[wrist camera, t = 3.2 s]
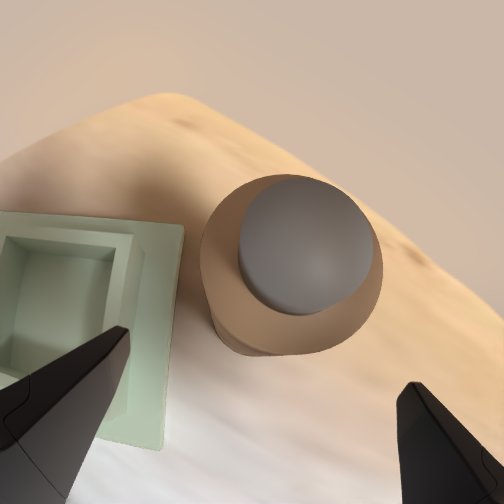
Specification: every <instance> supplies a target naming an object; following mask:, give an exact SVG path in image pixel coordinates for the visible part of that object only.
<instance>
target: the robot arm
mask: <svg viewBox="0 0 504 504" xmlns="http://www.w3.org/2000/svg"><path fill="white" fill-rule="evenodd" d="M130 350H131V345H130V331H129V329H128V328H125V327H122V326H119V325H116V326H114V327H112V328H110V329H109V330H107V331H105V332H103V333H101V334H100V335H98V336H96V337H94V338H93V339H91V340H89V341H87V342H86V343H84V344H82V345H80V346H78V347H77V348H75V349H73V350H71V351H70V352H68V353H66V354H64V355H63V356H61V357H59V358H57V359H56V360H54V361H52V362H50V363H48V364H47V365H45V366H43V367H41V368H40V369H38V370H36V371H34V372H33V373H31V374H30V375H27V376H25V377H24V378H22V379H20V380H18V381H16V382H14V383H13V384H11V385H9V386H7V387H5V388H3V389H0V504H65V502H66V499H67V497H68V495H69V493H70V490H71V488H72V486H73V483H74V481H75V479H76V476H77V474H78V472H79V470H80V467H81V465H82V463H83V461H84V459H85V456H86V454H87V452H88V450H89V448H90V446H91V444H92V441H93V439H94V437H95V435H96V433H97V431H98V429H99V427H100V425H101V422H102V420H103V418H104V416H105V414H106V412H107V410H108V408H109V406H110V404H111V402H112V400H113V398H114V396H115V393H116V390H117V388H118V385H119V382H120V379H121V377H122V374H123V371H124V368H125V365H126V363H127V360H128V357H129V355H130ZM396 407H397V443H398V453H399V463H400V474H401V488H402V504H504V467H503V466H502V465H501V464H500V463H499V462H498V461H497V460H496V459H495V458H494V457H493V456H492V455H491V454H490V453H489V452H488V451H487V450H486V449H485V448H484V447H483V446H482V445H481V444H480V442H479V441H478V440H477V439H476V438H475V437H474V436H473V435H472V434H471V433H470V432H469V431H468V430H467V429H466V428H465V427H464V426H463V425H462V424H461V423H460V422H459V421H458V420H457V419H456V418H455V417H454V415H453V414H452V413H451V412H450V411H449V410H448V409H447V408H446V407H445V406H444V405H443V404H442V403H441V402H440V401H439V400H438V399H437V398H436V397H435V396H434V395H433V394H432V393H431V392H430V391H429V390H428V389H427V388H426V387H425V386H424V385H423V384H422V383H421V382H409V383H408V384H407V385H406V387H405V388H404V389H403V391H402V392H401V394H400V395H399V396H398V398H397V402H396Z"/></svg>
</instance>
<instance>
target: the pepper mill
mask: <svg viewBox="0 0 504 504" xmlns="http://www.w3.org/2000/svg"><path fill="white" fill-rule="evenodd" d="M200 272H201V276H202V281H203V285H204V289H205V293H206V297H207V301H208V304H209V308H210V312H211V316H212V319H213V323H214V327H215V329H216V332H217V334H218V336H219V337H220V339H221V340H222V341H223V342H224V344H225V345H226V346H228V347H229V348H230V349H232V350H233V351H235V352H237V353H239V354H242V355H246V356H282V355H300V354H310V353H315V352H320V351H323V350H326V349H329V348H332V347H334V346H336V345H338V344H340V343H342V342H343V341H345V340H346V339H348V338H349V337H351V336H352V335H353V334H354V333H355V332H356V331H357V330H358V329H360V328H361V326H362V325H363V324H364V323H365V321H366V320H367V319H368V317H369V316H370V314H371V313H372V311H373V309H374V307H375V305H376V302H377V300H378V297H379V294H380V290H381V286H382V279H383V261H382V253H381V249H380V245H379V242H378V239H377V236H376V234H375V231H374V230H373V228H372V226H371V224H370V222H369V221H368V219H367V218H366V216H365V215H364V213H363V212H362V211H361V210H360V208H359V207H358V206H357V205H356V203H355V202H354V201H353V200H352V199H351V198H350V197H349V196H347V195H346V194H345V193H344V192H342V191H341V190H339V189H337V188H336V187H334V186H332V185H330V184H328V183H325V182H322V181H319V180H316V179H313V178H310V177H305V176H300V175H290V174H283V175H272V176H266V177H262V178H259V179H255V180H253V181H251V182H248V183H246V184H244V185H242V186H241V187H239V188H237V189H236V190H234V191H233V192H232V193H231V194H229V195H228V196H227V197H226V198H225V199H224V200H223V201H222V202H221V203H220V204H219V205H218V207H217V208H216V209H215V211H214V212H213V214H212V215H211V217H210V219H209V221H208V223H207V225H206V228H205V230H204V233H203V236H202V241H201V246H200Z"/></svg>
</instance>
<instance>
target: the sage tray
mask: <svg viewBox="0 0 504 504" xmlns="http://www.w3.org/2000/svg"><path fill="white" fill-rule="evenodd" d="M184 236H185V230H184V226H183V225H181V224H170V223H159V222H147V221H135V220H123V219H110V218H97V217H84V216H70V215H55V214H40V213H25V212H8V211H0V389H3V388H5V387H7V386H9V385H11V384H13V383H14V382H16V381H18V380H20V379H22V378H24V377H25V376H27V375H30V374H31V373H33V372H34V371H36V370H38V369H40V368H41V367H43V366H45V365H47V364H48V363H50V362H52V361H54V360H56V359H57V358H59V357H61V356H63V355H64V354H66V353H68V352H70V351H71V350H73V349H75V348H77V347H78V346H80V345H82V344H84V343H86V342H87V341H89V340H91V339H93V338H94V337H96V336H98V335H100V334H101V333H103V332H105V331H107V330H109V329H110V328H112V327H114V326H116V325H119V326H122V327H125V328H128V329H129V331H130V345H131V350H130V355H129V357H128V360H127V363H126V365H125V368H124V371H123V374H122V377H121V379H120V382H119V385H118V388H117V390H116V393H115V396H114V398H113V400H112V402H111V404H110V406H109V408H108V410H107V412H106V414H105V416H104V418H103V420H102V422H101V425H100V427H99V429H98V431H97V433H96V435H95V437H97V438H101V439H105V440H109V441H113V442H117V443H121V444H126V445H130V446H135V447H140V448H145V449H151V450H156V451H160V450H161V449H162V447H163V442H164V422H165V405H166V391H167V378H168V366H169V355H170V345H171V335H172V326H173V317H174V308H175V300H176V292H177V284H178V277H179V269H180V262H181V255H182V249H183V242H184Z"/></svg>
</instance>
